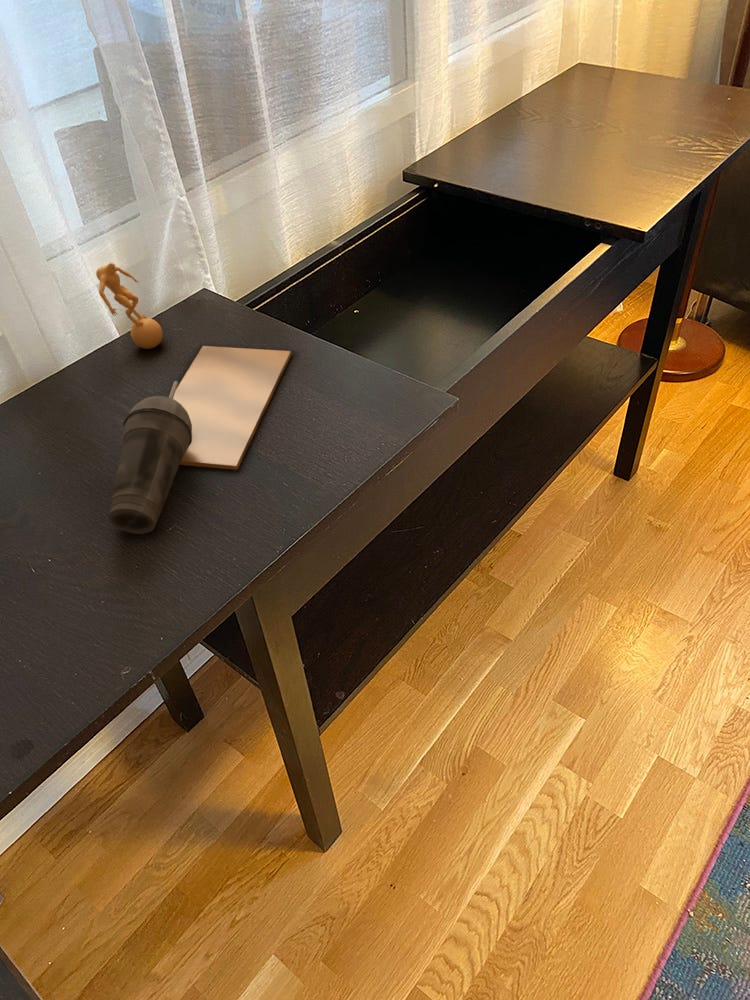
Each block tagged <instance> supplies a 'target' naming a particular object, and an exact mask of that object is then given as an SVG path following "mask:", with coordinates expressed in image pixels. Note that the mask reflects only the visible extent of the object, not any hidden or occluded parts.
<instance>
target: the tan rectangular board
mask: <svg viewBox="0 0 750 1000" xmlns="http://www.w3.org/2000/svg"><path fill="white" fill-rule="evenodd" d="M291 357H292V351H291V350H280V349H279V350H278V349H263V348H246V347H245V348H244V347H229V346H211V345H202V346H201V348H200V350H199V351H198V353H197V355H196V357H194V360H193V361H192V363H191V364H190V366H189V367H188V369H187V371H186V372H185V374H184V375H183V377H182V379H181V381H180V382H179V383H178V385H177V388H176V391H175V394H174V397H173V399H174V400H175V401H177V402H178V403H180V404H181V405H182V406H183V407H184V408H185V410H186V411H187V413H188V415H189V417H190V420H191V424H192V442H191V444H190V446H189V447H188V449H187V451H186V453H185V455H184V456H183V458H182V459H181V462H180V464H179V466H190V467H201V468H212V469H221V470H223V469H224V470H235V471H237V470H238V469H239V468H240V465H241V463H242V461H243V459H244V457H245V454H246V452H247V451H248V449H249V446H250V445H251V442H252V440H253V438H254V435H255V434H256V431H257V429H258V427H259V425H260V423H261V421H262V419H263V416H264V414H265V412H266V410H267V408H268V406H269V405H270V402H271V399H272V397H273V396H274V393H275V391H276V388H277V386H278V385H279V382H280V380H281V379H282V376H283V373H284V372H285V369H286V367H287V366H288V363H289V362H290V359H291Z"/></svg>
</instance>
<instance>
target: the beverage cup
mask: <svg viewBox="0 0 750 1000" xmlns="http://www.w3.org/2000/svg"><path fill="white" fill-rule="evenodd" d="M178 386H179V381H178V380H174V382H173V384H172V387H171V389H170V392H169V395H168V396H165V395H152V396H149V397H145V398H143V399H142V400H140V401H139V402H138V403H136V404H135V405H134V406H133V407H131V410H130V411H129V413H128V415H126V418H125V419H124V421H123V433H122V446H121V450H120V455H119V459H118V460H119V461H118V466H117V470H116V475H115V479H114V484H113V489H112V493H111V499H110V506H109V507H110V508H109V510H110V511H109V513H108V520H109V522H110V523H111V525H113V526H114V527H115V528H117V529H119V530H121V531H122V532H123V531H124V532H127V533H130V534H137V535H139V534H140V535H143V534H148V533H151V532H152V531H153V530H154V529H155V528H156V524H157V522H158V520H159V519H160V516H161V515H162V511H163V509H164V507H165V503H166V501H167V499H168V495H169V493H170V491H171V488H172V486H173V483H174V480H175V478H176V475H177V472H178V469H179V467H180V465H179V464H180V462H181V459H182V458H183V456H184V455H185V453H186V451H187V449H188V447H189V446H190V444H191V442H192V424H191V420H190V417H189V415H188V413H187V411H186V410H185V408H184V407H183V406H182V405H181V404H180V403H178V402H177V401H175V400H174V399H173V397H174V394H175V391H176V389H177V387H178Z"/></svg>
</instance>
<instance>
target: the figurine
mask: <svg viewBox="0 0 750 1000" xmlns="http://www.w3.org/2000/svg"><path fill="white" fill-rule="evenodd" d="M118 272H119V273H120V274H122V275H123V276H126V277H128V278H130V279H132V280H133V281H134V282H135V283H137V284H138V283H139V281H138V280H137V278H135V277H134V276H133V275H131V274H130V273H129V272H127V271H125V270H123V269H122V268H121V267H119V266H116V264H115V263H114V262H109V263H108V264H107V265H104V266H100V267H98V268H97V270H96V272H95V275H96V278H97V279H98V281H99V288H98V294H99V296H100V297H101V299H102V300H103V302H104V303H105V305H106V307H108V310H109V313H110V314H111V315H112V316H113V317H115V316H116V317H117V315H118V313H117V309H116V308H114V307H112V305H111V302H110V301H109V299H108V298H107V295H106V294H105V288H108V289H109V290H110V291H111V293H112V294H113V299H114V301H115V302H116V303H118V304H119V305H121V306H123V308H126V310H125V315H126V316H127V318H128V319H129V320H130V321H131V322H132V323H133V324H132V326H131V328H130V337H131V339H132V341H133V343H134V344H135V345H136V346H138V347H139V348H141V349H145V350H151V349H154V348H156V347H158V346H159V345H160V343H161V342H162V339H163V329H162V326H161V325H160V323H158V321H156V320H155V319H153V318H150V317H147V316H146V315H143V314H140V313H139V312H138V311H137V310H136V309H135V308H136V307H137V305H138V303H139V298H138V296H137V295H135V294H133V293H132V292H131V291H130V290H128V288H127V287H126V286H125V285H123V284H122V285H121V277H120V275H119V273H118ZM131 301H132V302H131ZM132 314H134V316H135V317H136V318H137V319H136V318H135V317H134V316H132Z"/></svg>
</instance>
